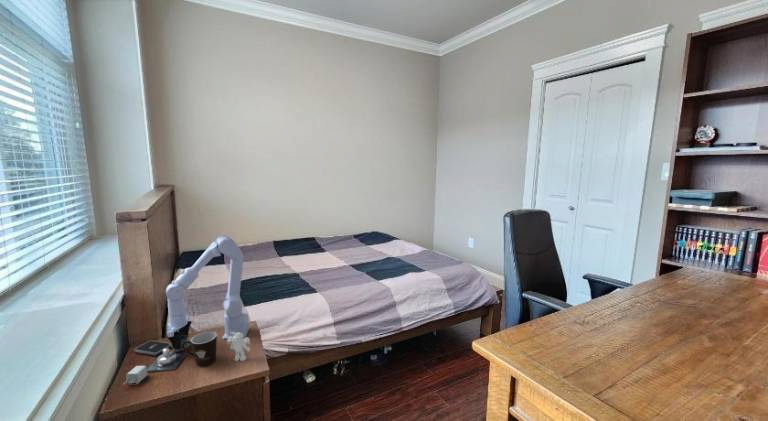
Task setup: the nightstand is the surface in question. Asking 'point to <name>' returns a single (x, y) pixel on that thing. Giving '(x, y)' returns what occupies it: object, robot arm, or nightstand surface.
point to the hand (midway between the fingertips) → (181, 344)
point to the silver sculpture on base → (166, 361)
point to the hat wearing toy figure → (238, 345)
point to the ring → (183, 339)
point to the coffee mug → (203, 348)
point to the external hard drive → (152, 348)
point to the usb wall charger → (136, 375)
